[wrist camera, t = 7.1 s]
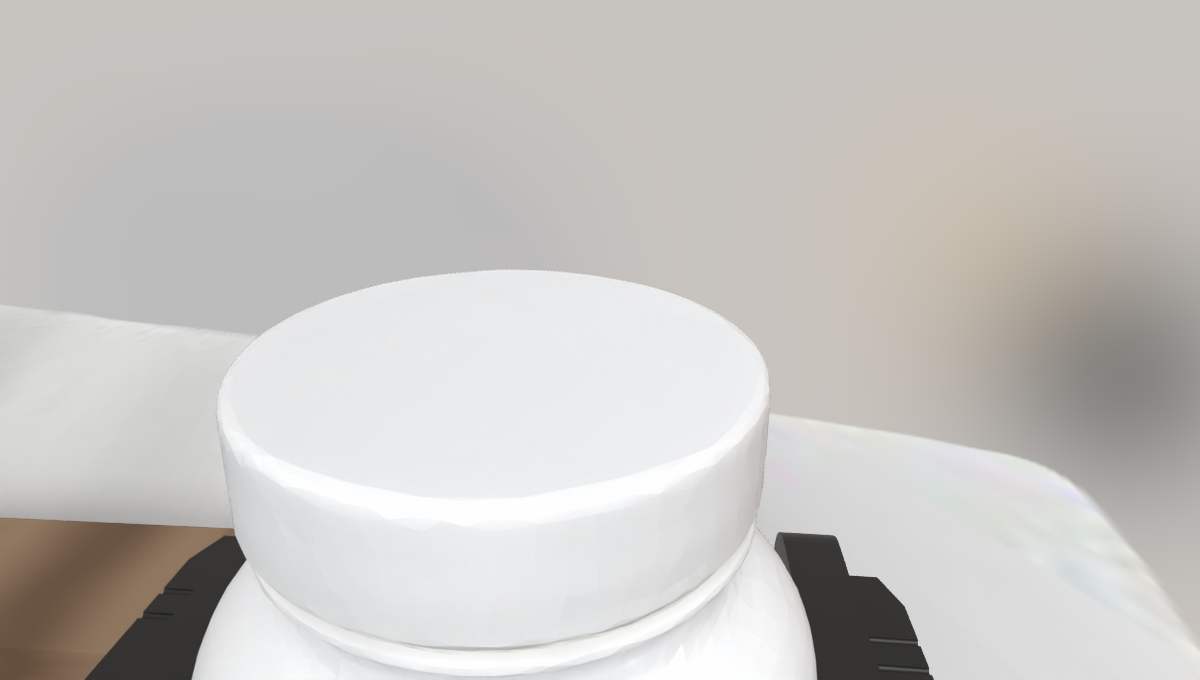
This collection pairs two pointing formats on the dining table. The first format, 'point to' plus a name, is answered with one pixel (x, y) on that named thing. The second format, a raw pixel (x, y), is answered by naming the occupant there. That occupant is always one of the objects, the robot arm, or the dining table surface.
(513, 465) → the pill bottle
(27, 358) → the dining table surface
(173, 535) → the socket block
